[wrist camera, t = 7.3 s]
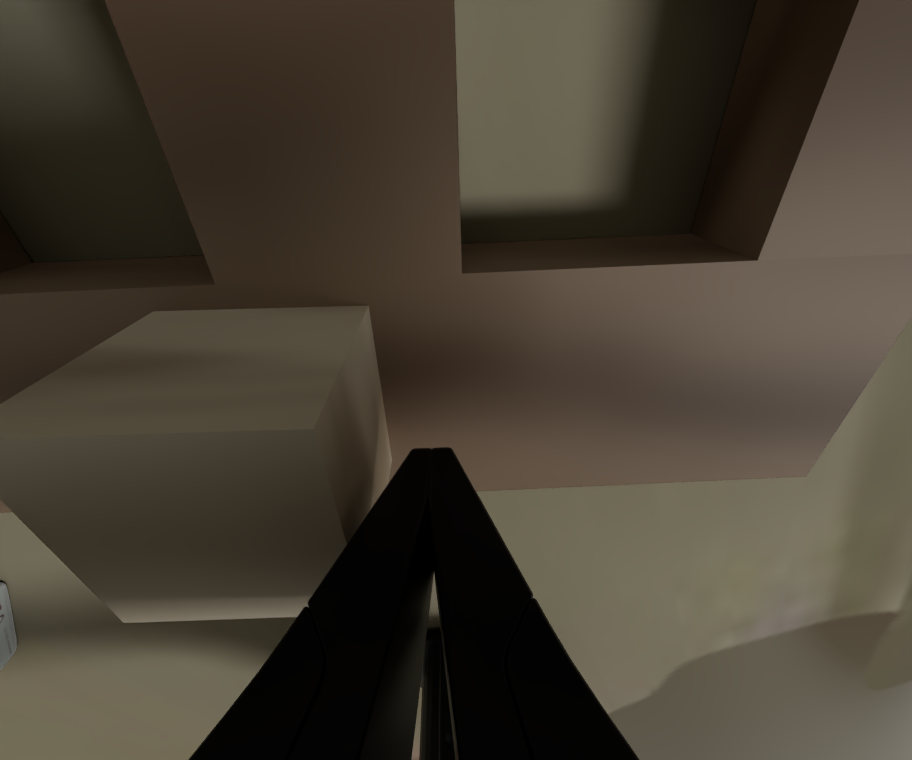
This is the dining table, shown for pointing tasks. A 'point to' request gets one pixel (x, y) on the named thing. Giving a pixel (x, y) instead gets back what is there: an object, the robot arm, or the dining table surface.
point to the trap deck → (519, 242)
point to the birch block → (203, 459)
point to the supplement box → (6, 627)
